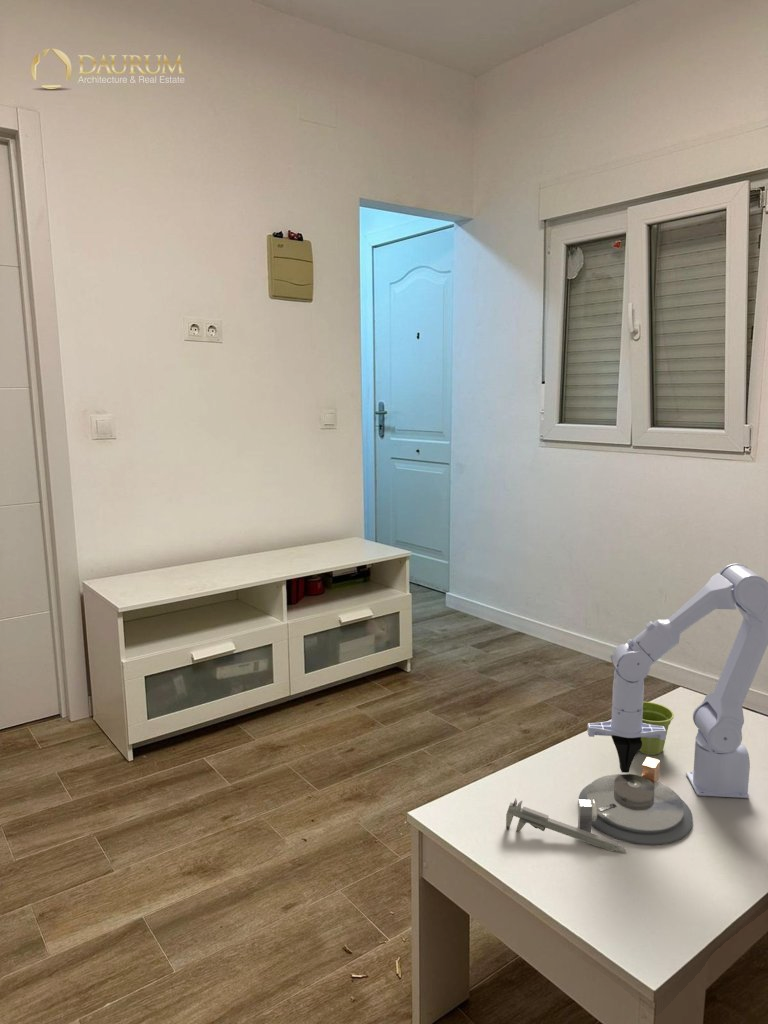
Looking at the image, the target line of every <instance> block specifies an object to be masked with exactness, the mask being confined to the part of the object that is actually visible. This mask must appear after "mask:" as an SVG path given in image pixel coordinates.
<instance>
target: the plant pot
mask: <svg viewBox="0 0 768 1024" xmlns="http://www.w3.org/2000/svg"><path fill="white" fill-rule="evenodd" d="M674 717H675V714H674V712H673V710H671V709H670V708H669V707H667V706H664V705H662V704H659V703H656V702H650V701H643V717H642V723H645V724H650V725H656V726H664V728H665V730H666V736H667V734H668V730H669V726H670V724H671V722H672V721H673V719H674ZM641 741H642V747H641V749H640V750H639V751H638V752H641V753H642V754H644V755H649V756H656V755H659V754H660V753H663V751H664V747H665V743H666V740H660V739H659V738H648V737H641Z"/></svg>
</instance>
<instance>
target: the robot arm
mask: <svg viewBox="0 0 768 1024" xmlns="http://www.w3.org/2000/svg"><path fill="white" fill-rule="evenodd" d="M737 609H738V611H739V612H740V614H741V616H742V619H743V620H742V621H741V624H740V626H739V629H738V631H737V634H736V636H735V639H734V641H733V643H732V646H731V649H730V651H729V653H728V656H727V657H726V661H725V664H724V666H723V667H722V668H723V669H722V670H721V673H720V675H719V678H718V681H717V683H716V686H715V688H714V690H713V691H711V692H709V693H707V694H706V695H705V697H704V699H703V700H702V702H701V703H700V704H698V706H697V707H696V708H695V709H694V711H693V714H692V721H693V724H694V725H695V726H696V727H697V733H696V736H695V744H694V755H693V756H694V761H693V771H686V773H685V774H686V776H687V779H688V781H689V782H690V783H691V786H692V788H693V789H694V791H695V793H696V795H697V796H698V797H699V796H700V797H719V798H722V797H723V798H740V799H747V798H748V799H749V798H750V795H749V782H750V780H749V779H750V770H751V762H750V761H751V760H750V754H749V752H748V749H747V747H746V746H745V745H744V744H743V743H742V741H743V734H742V728H743V725H744V724H745V717H744V709H743V705H744V702H745V700H746V698H747V695H748V693H749V690H750V688H751V685H752V683H753V681H754V678H755V677H756V673H757V672H758V669H759V667H760V664H761V662H762V660H763V657H764V655H765V652H766V650H767V647H768V581H767V579H765V578H764V577H763V576H760V575H758V574H756V573H755V572H754V571H752V570H751V569H749V567H747V566H745V565H744V564H741V563H731V564H728V565H726V566H724V567H723V568H722V569H721V570H720V572H717V573H715V574H714V575H712V576H711V577H710V579H709V580H708V581H707V582H706V584H705V585H704V586H703V587H702V588H700V590H699V591H697V593H695V594H694V595H693V596H692V597H691V598H690V599H689V600H688V601H686V602H685V603H684V604H683V605H682V606H681V607H680V608H678V610H677V611H676V612H674V613H673V614H672V615H671V616H670V617H669V618H666V619H661V618H660V619H656V620H654V622H653V621H649V622H648V623H646V624H645V627H646V628H645V629H643V630H642V631H641V632H639V634H637V635H636V636H635V637H633V639H631V638H629V639H627V641H626V643H625V644H624V643H622V644H620V645H618V646H616V648H615V649H614V650H613V653H612V654H610V661H611V663H612V665H613V666H614V667H615V668H614V673H613V682H612V698H611V699H612V701H611V720H608V721H601V722H588V723H587V735H588V737H590V738H591V737H592V738H594V737H595V736H606V737H607V736H608V737H611V739H612V742H613V744H614V746H615V749H616V753H617V756H618V757H617V758H618V761H619V769H620V772H621V773H623V774H624V773H626V774H630V769H631V766H632V764H633V761H634V759H635V758H636V756H637V753H638V752H640V751H639V750H640V749H641V747H642V741H641V737H648V738H659V739H660V740H665V741H666V738H667V735H666V730H665V728H664V726H656V725H650V724H645V723H642V717H643V702H644V698H645V697H644V696H645V685H644V684H645V679H646V678H647V676H648V675H649V673H650V670H651V666H653V664H654V663H656V662H657V661H658V660H659V659H661V658H662V657H663V656H665V655H666V654H667V653H668V652H669V651H671V650H672V649H673V648H675V647H676V646H678V645H679V643H680V640H681V639H680V637H681V634H682V633H683V632H685V631H687V629H689V628H690V627H692V626H693V625H695V624H696V623H698V622H699V621H700V620H702V619H703V618H705V617H706V616H708V615H709V614H710V613H712V612H713V611H716V610H732V611H733V610H737Z"/></svg>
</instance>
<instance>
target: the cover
mask: <svg viewBox="0 0 768 1024" xmlns="http://www.w3.org/2000/svg"><path fill="white" fill-rule="evenodd" d="M623 774H624V773H623ZM654 790H655V787H654V784H653V783H652V782H651V781H650V780H648V779H647V778H645V777H642V775H638V774H633V773H631V774H630V773H626V774H624V775H620V776H618V777H617V778H616V779H615V782H614V799H615V801H616V802H617V803H618V804H620V805H621V806H623V807H626V808H629V809H633V810H646V809H649V808H651V807H652V806H653V804H654Z"/></svg>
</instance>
